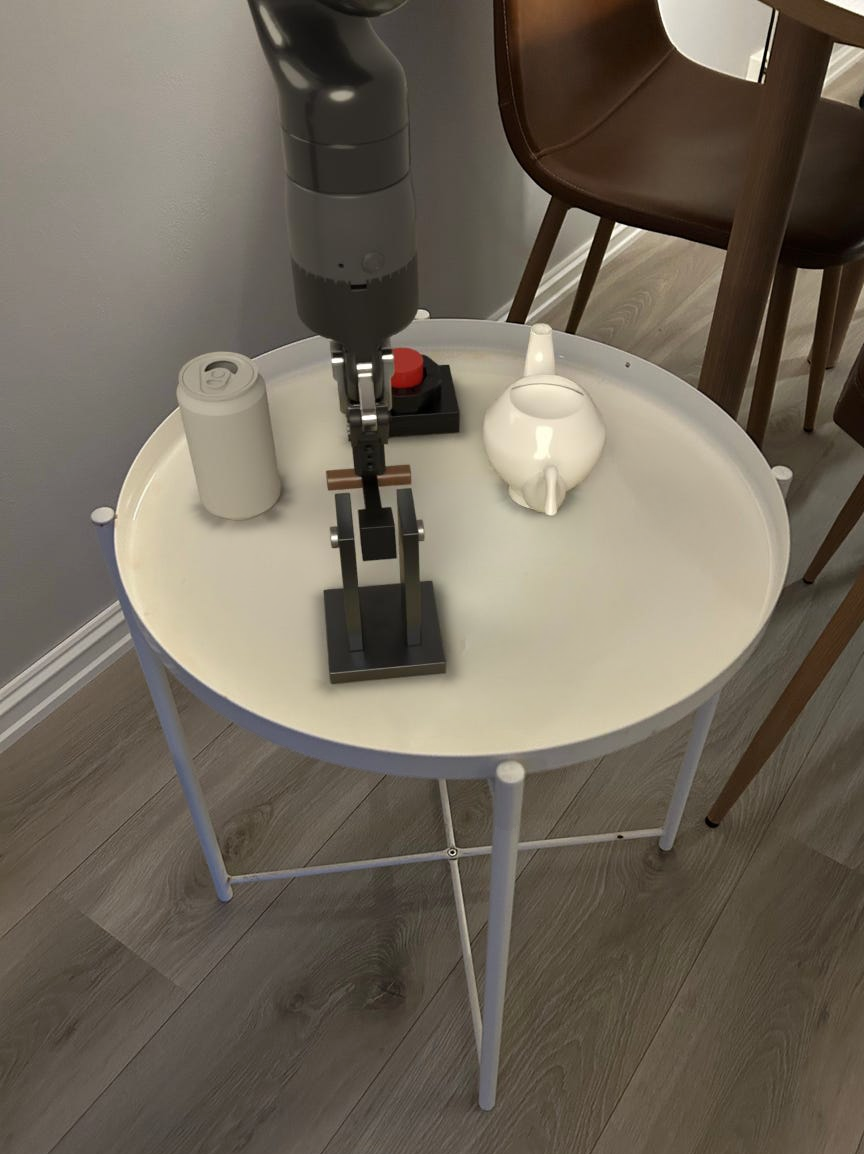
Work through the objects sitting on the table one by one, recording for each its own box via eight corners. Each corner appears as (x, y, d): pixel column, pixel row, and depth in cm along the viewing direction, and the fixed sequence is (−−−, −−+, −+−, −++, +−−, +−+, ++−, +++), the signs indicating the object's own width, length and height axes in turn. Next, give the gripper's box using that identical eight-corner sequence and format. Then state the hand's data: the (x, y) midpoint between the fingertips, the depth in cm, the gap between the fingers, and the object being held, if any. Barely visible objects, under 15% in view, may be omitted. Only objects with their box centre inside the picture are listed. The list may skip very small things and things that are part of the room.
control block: (354, 440, 91) (351, 401, 88) (349, 391, 96) (346, 352, 93) (459, 432, 92) (460, 394, 89) (449, 384, 97) (449, 346, 94)
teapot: (480, 576, 81) (484, 481, 74) (479, 414, 94) (482, 321, 87) (607, 578, 81) (622, 484, 74) (588, 416, 94) (599, 323, 87)
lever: (328, 491, 78) (324, 461, 76) (410, 485, 78) (408, 454, 77) (333, 564, 68) (329, 530, 67) (426, 556, 69) (424, 523, 68)
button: (383, 390, 90) (382, 373, 89) (379, 366, 92) (378, 348, 91) (425, 388, 90) (425, 370, 89) (421, 363, 93) (420, 346, 91)
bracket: (324, 600, 79) (309, 476, 70) (432, 591, 80) (431, 467, 71) (330, 684, 74) (315, 562, 65) (445, 673, 75) (446, 551, 66)
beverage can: (289, 476, 88) (272, 350, 79) (271, 529, 84) (251, 403, 75) (213, 469, 88) (187, 343, 79) (191, 522, 84) (161, 395, 75)
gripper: (285, 191, 67) (312, 416, 80) (292, 307, 58) (321, 538, 71) (405, 185, 68) (412, 409, 81) (429, 298, 59) (433, 528, 72)
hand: (369, 469), depth 76 cm, fingers closed
